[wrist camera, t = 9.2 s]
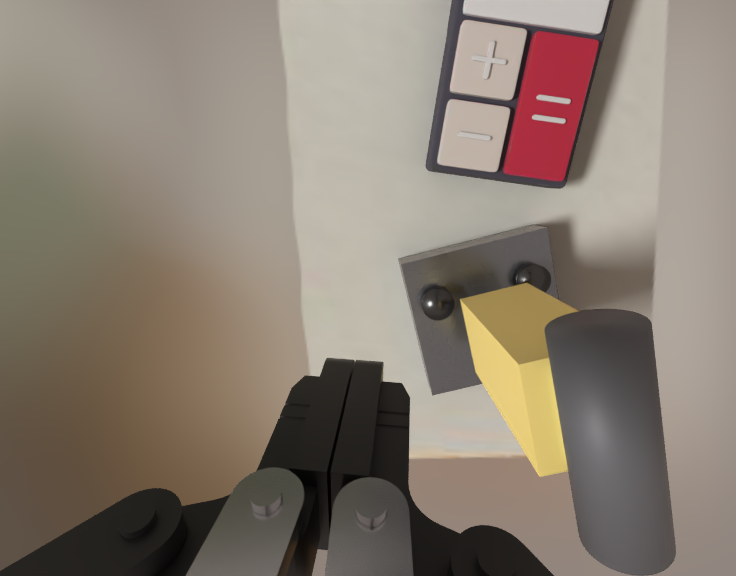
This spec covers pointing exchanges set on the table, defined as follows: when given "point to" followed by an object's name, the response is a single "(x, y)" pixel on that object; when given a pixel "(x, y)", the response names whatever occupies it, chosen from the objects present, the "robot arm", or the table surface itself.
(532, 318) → the yellow toy mallet
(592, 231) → the table surface
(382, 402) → the robot arm
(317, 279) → the table surface
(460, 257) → the base
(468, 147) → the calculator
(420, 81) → the table surface
